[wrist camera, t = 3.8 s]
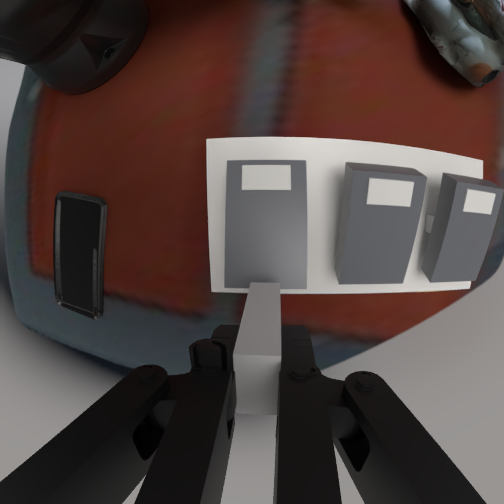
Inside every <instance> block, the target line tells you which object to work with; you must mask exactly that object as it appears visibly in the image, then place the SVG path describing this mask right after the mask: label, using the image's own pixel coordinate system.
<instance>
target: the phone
mask: <svg viewBox="0 0 504 504" xmlns="http://www.w3.org/2000/svg"><path fill="white" fill-rule="evenodd" d="M107 211H108V206H107V203H106V201H105V200H104V199H103V198H100V197H95V196H89V195H84V194H79V193H74V192H68V191H62V192H59V193H58V194H57V195H56V198H55V209H54V231H53V264H54V286H55V297H56V300H57V302H58V303H59V304H60V305H61V306H63V307H65V308H67V309H70V310H72V311H75V312H77V313H79V314H82V315H84V316H87V317H89V318H92V319H95V320H96V319H98V318H100V317H101V316H102V315H103V271H104V248H105V233H106V221H107Z"/></svg>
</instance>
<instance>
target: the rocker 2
mask: <svg viewBox="0 0 504 504" xmlns="http://www.w3.org/2000/svg"><path fill="white" fill-rule="evenodd" d="M426 182H427V176H425V175H424V174H422V173H421V172H419V171H418V170H416V169H415V168H408V167H399V166H390V165H379V164H368V163H355V162H345V176H344V188H343V199H342V209H341V219H340V228H339V236H338V244H337V252H336V259H335V266H334V269H335V273H336V276H337V280H338V284H339V285H344V284H403V281H404V278H405V274H406V271H407V268H408V264H409V260H410V257H411V253H412V249H413V245H414V241H415V237H416V233H417V229H418V224H419V219H420V215H421V210H422V205H423V200H424V194H425V188H426Z"/></svg>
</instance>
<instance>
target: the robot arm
mask: <svg viewBox="0 0 504 504" xmlns="http://www.w3.org/2000/svg"><path fill="white" fill-rule="evenodd" d="M147 23H148V10H147V6H146V4H145V2H144V1H143V0H0V58H2V59H6V60H10V61H14V62H18V63H21V64H24V65H27V66H28V67H29V68H30V69H31V70H32V71H33V72H34V73H35V74H36V75H38V76H39V77H40V78H41V79H42V80H43V81H44V83H45V84H46V85H47V86H48V87H50V88H52V89H54V90H57V91H60V92H64V93H67V94H79V93H84V92H87V91H90V90H92V89H94V88H96V87H98V86H100V85H101V84H103V83H104V82H106V81H107V80H109V79H110V78H111V77H112V76H114V75H115V74H116V73H117V72H118V71H119V70H120V69H121V68H122V67H123V66H124V65H125V64H126V63H127V62H128V60H129V59H130V58H131V56H132V55H133V54H134V52H135V51H136V49H137V48H138V46H139V44H140V42H141V40H142V38H143V36H144V34H145V31H146V27H147ZM189 353H190V360H191V367H192V368H191V371H190V372H189V373H186V374H180V375H169V376H168V374H167V372H166V370H165V369H164V368H162V367H160V366H158V365H143V366H140V367H137V368H135V369H134V370H132V371H131V372H130V373H129V374H128V375H127V376H125V377H124V378H123V379H122V380H121V381H119V382H118V383H117V384H116V385H115V386H114V387H113V388H111V389H110V390H109V391H108V392H107V393H106V394H104V395H103V396H102V397H101V398H100V399H99V400H97V401H96V402H95V403H94V404H93V405H91V406H90V407H89V408H88V409H87V410H86V411H84V412H83V413H82V414H81V415H80V416H79V417H77V418H76V419H75V420H74V421H73V422H71V423H70V424H69V425H68V426H67V427H66V428H64V429H63V430H62V431H61V432H60V433H59V434H57V435H56V436H55V437H54V438H53V439H52V440H50V441H49V442H48V443H47V444H45V445H44V446H43V447H42V448H41V449H39V450H38V451H37V452H36V453H35V454H33V455H32V456H31V457H30V458H29V459H27V460H26V461H25V462H24V463H23V464H22V465H20V466H19V467H18V468H17V469H15V470H14V471H13V472H12V473H10V474H9V475H8V476H7V477H6V478H4V479H3V480H2V481H1V482H0V504H122V503H123V502H124V501H125V500H126V498H127V497H128V496H129V495H130V494H131V492H132V491H133V490H134V489H135V487H136V486H137V485H138V484H139V483H140V481H141V480H142V479H143V478H144V476H145V475H146V477H145V479H144V482H143V484H142V486H141V489H140V491H139V493H138V496H137V498H136V501H135V503H134V504H220V502H221V497H222V492H223V486H224V481H225V476H226V470H227V465H228V459H229V454H230V448H231V443H232V437H233V432H234V426H235V418H234V413H235V408H236V413H241V414H263V415H277V425H276V454H275V477H274V496H273V504H342V502H341V493H340V486H339V478H338V471H337V464H336V458H335V451H334V445H335V447H336V449H337V451H338V453H339V455H340V456H341V458H342V460H343V462H344V464H345V466H346V468H347V470H348V472H349V474H350V476H351V478H352V480H353V482H354V484H355V486H356V487H357V489H358V491H359V494H360V495H361V497H362V499H363V501H364V503H365V504H486V502H485V501H484V500H483V499H482V497H481V496H480V495H479V494H478V492H477V491H476V490H475V489H474V487H473V486H472V485H471V484H470V483H469V481H468V480H467V479H466V478H465V476H464V475H463V474H462V473H461V471H460V470H459V469H458V468H457V467H456V465H455V464H454V463H453V462H452V461H451V459H450V458H449V457H448V456H447V454H446V453H445V452H444V451H443V450H442V449H441V447H440V446H439V445H438V444H437V442H435V440H434V439H433V438H432V437H431V435H430V434H429V433H428V432H427V431H426V430H425V428H424V427H423V426H422V425H421V423H420V422H419V421H418V420H417V419H416V417H415V416H414V415H413V414H412V413H411V411H410V410H409V409H408V408H407V407H406V406H405V405H404V403H403V402H402V401H401V400H400V399H399V397H397V395H396V394H395V393H394V392H393V390H392V389H391V388H390V387H389V386H388V385H387V383H386V382H385V381H384V380H383V379H382V378H381V377H380V376H378V375H377V374H375V373H372V372H367V371H358V372H354V373H351V374H350V375H348V376H347V377H346V379H345V381H342V380H336V379H331V378H328V377H326V376H324V375H322V374H321V371H320V370H319V368H318V367H317V366H316V364H315V359H314V353H313V348H312V342H311V337H310V332H309V331H308V330H307V329H306V328H305V327H304V326H281V305H280V283H263V282H251V283H250V287H249V291H248V296H247V300H246V304H245V308H244V312H243V316H242V320H241V324H240V325H220V326H219V327H217V328H216V329H215V330H214V331H213V334H212V336H211V339H202V340H198V341H196V342H194V343H192V344H191V346H190V347H189ZM333 443H334V444H333Z"/></svg>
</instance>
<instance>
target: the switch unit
mask: <svg viewBox="0 0 504 504" xmlns="http://www.w3.org/2000/svg"><path fill="white" fill-rule="evenodd" d="M206 146H207V201H208V230H209V253H210V272H211V289H212V292H225V293H248V291H249V289H248V288H224V266H225V209H226V174H227V160H306V172H307V289H280V294H360V293H398V292H430V291H443V290H460V289H470V284H471V281H460V282H436V283H430V282H429V280H428V279H427V277H426V275H425V274H424V272H423V271H422V269H421V265H422V262H423V259H424V255H425V252H426V248H427V244H428V241H429V237H430V233H431V229H432V225H433V220H434V216H435V211H436V207H437V202H438V197H439V192H440V186H441V181H442V175H443V172H444V173H451V174H457V175H463V176H468V177H474V178H479V179H483V161H482V160H477V159H473V158H469V157H464V156H459V155H455V154H450V153H444V152H439V151H433V150H428V149H421V148H415V147H408V146H401V145H394V144H385V143H377V142H367V141H356V140H343V139H328V138H305V137H238V138H215V139H206ZM345 162H355V163H368V164H379V165H390V166H399V167H408V168H415V169H416V170H418V171H419V172H421V173H422V174H424V175H425V176H427V182H426V188H425V194H424V200H423V205H422V210H421V215H420V219H419V224H418V229H417V233H416V237H415V241H414V245H413V249H412V253H411V257H410V260H409V264H408V268H407V271H406V274H405V278H404V281H403V284H344V285H339V284H338V280H337V276H336V273H335V269H334V266H335V259H336V252H337V244H338V236H339V228H340V219H341V209H342V199H343V188H344V176H345Z"/></svg>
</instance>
